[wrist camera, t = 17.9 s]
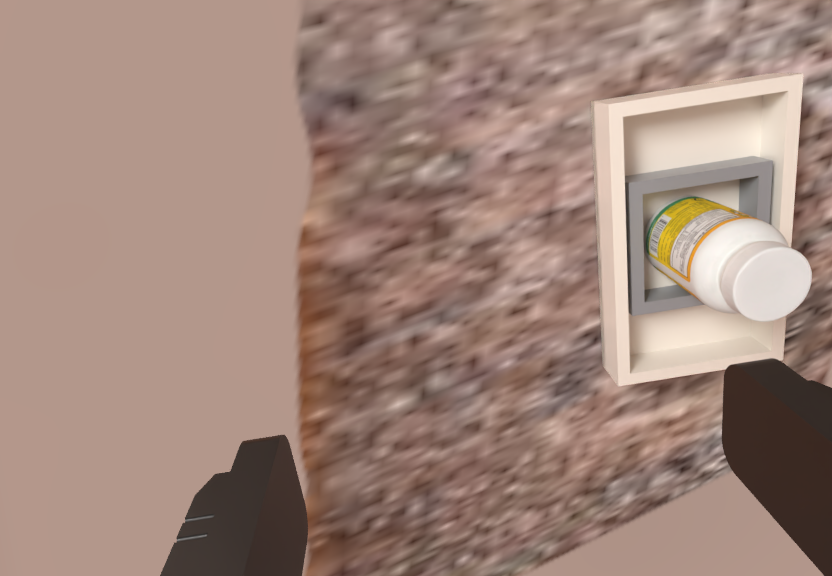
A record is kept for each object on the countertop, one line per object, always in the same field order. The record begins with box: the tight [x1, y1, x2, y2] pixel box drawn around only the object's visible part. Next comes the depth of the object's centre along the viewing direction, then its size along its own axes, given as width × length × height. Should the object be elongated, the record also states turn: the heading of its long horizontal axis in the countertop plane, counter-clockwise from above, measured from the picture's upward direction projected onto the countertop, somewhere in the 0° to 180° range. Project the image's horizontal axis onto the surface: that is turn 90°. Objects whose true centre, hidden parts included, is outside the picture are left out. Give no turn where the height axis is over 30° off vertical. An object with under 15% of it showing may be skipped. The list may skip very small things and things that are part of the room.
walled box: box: [591, 73, 803, 386], centre depth 38 cm, size 18×11×3 cm, turn 8°
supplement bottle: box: [643, 196, 812, 322], centre depth 34 cm, size 5×5×10 cm
